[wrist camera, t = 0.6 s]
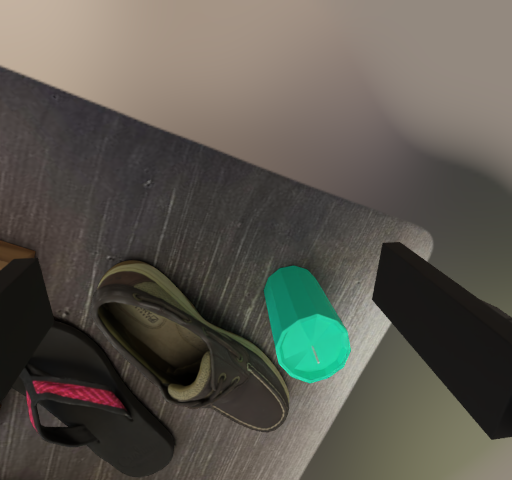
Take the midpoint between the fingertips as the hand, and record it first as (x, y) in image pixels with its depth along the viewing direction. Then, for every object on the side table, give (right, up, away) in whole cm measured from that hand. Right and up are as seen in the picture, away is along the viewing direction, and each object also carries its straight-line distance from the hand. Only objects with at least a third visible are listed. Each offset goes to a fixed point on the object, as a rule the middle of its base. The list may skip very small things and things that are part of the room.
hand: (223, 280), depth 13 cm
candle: (+5, -4, +23) cm, 24 cm away
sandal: (-17, -16, +25) cm, 34 cm away
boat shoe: (-5, -10, +24) cm, 26 cm away
